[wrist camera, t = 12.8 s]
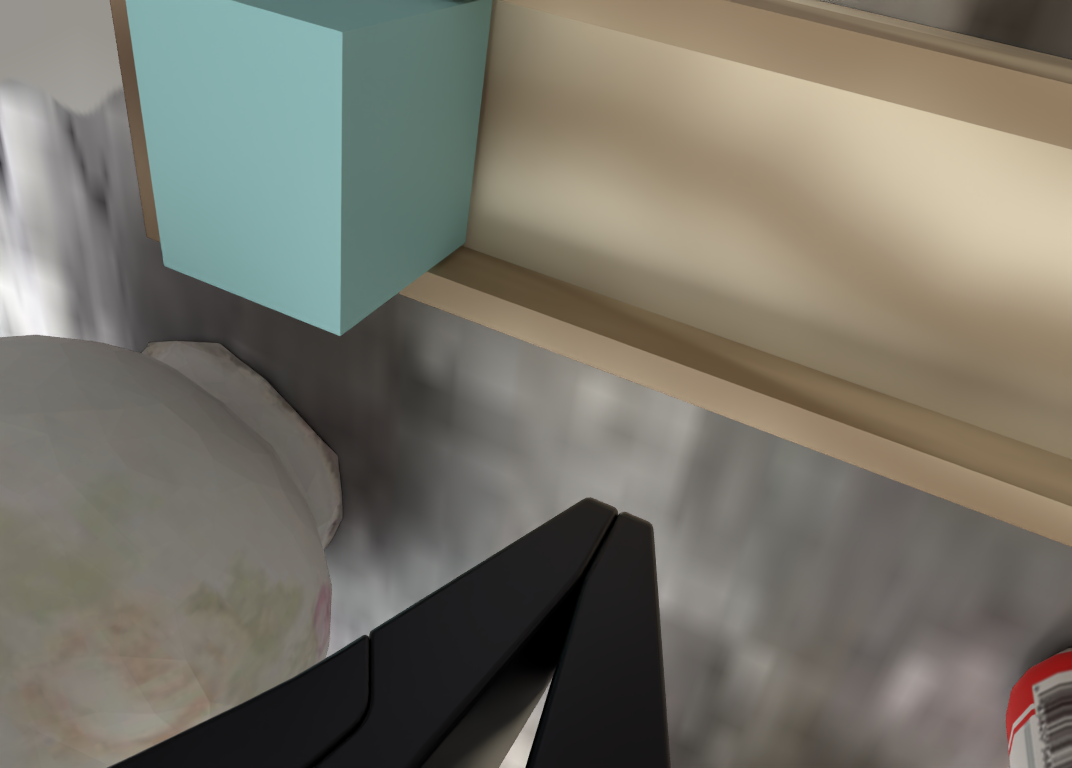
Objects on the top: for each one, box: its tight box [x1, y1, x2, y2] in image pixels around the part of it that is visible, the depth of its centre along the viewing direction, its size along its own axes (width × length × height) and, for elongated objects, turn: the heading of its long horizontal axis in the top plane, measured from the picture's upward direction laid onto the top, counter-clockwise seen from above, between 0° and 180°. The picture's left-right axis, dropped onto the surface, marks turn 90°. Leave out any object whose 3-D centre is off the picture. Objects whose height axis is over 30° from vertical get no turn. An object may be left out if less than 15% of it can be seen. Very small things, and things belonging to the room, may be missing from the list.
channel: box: [110, 0, 1072, 547], centre depth 18 cm, size 9×28×5 cm, turn 80°
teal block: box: [126, 0, 493, 336], centre depth 18 cm, size 6×5×6 cm
